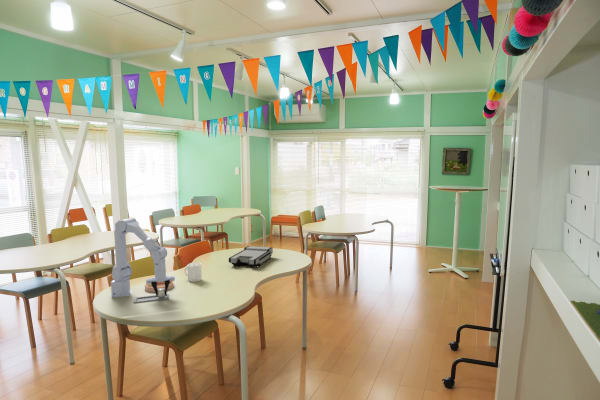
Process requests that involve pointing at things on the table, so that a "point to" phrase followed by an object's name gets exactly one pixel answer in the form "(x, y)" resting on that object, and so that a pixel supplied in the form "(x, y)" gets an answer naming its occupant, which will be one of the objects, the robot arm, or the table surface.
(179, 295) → the table surface
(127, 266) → the robot arm
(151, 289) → the bowl
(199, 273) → the mug
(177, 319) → the table surface
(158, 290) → the pale grey cylinder
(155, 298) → the parts tray
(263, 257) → the game console
